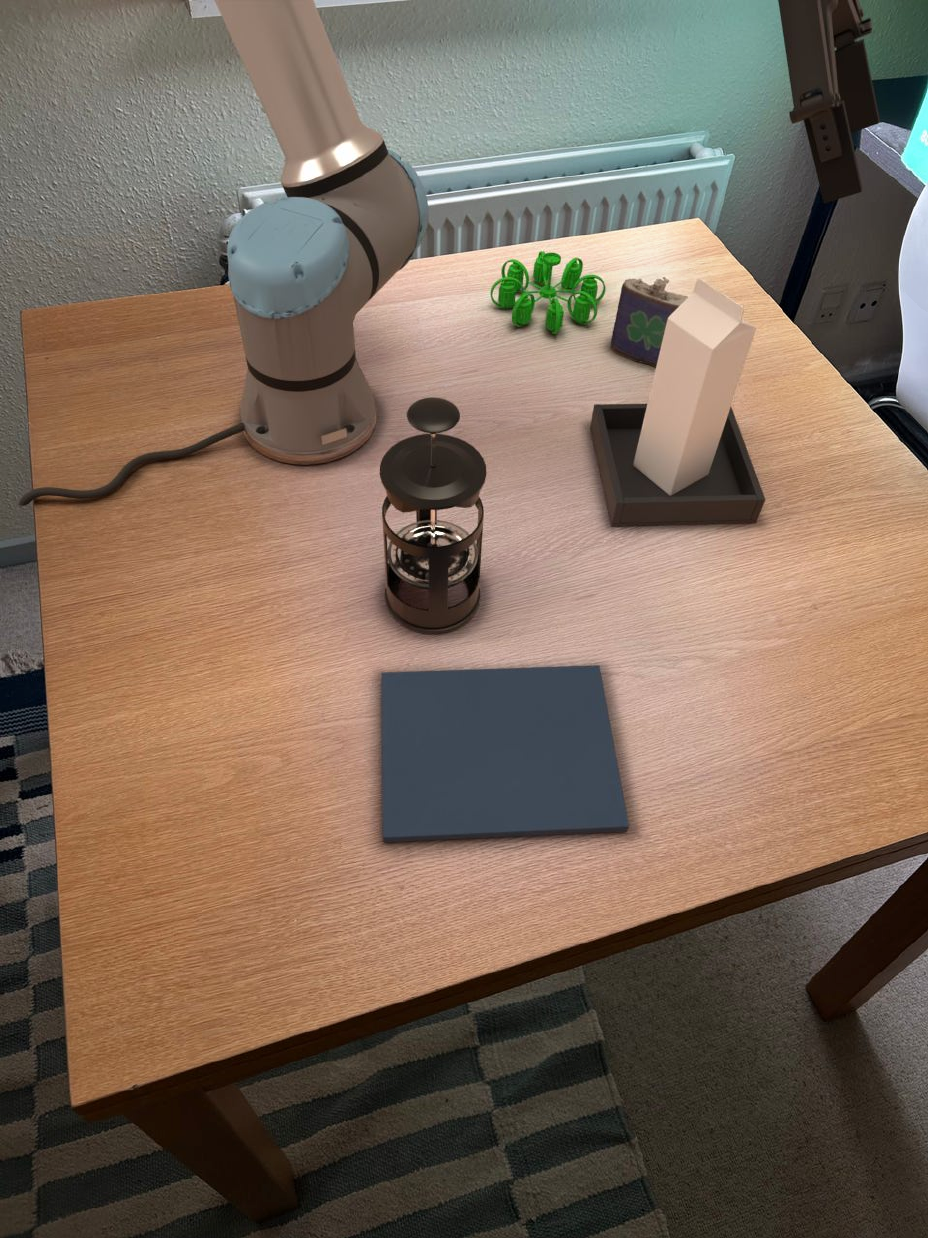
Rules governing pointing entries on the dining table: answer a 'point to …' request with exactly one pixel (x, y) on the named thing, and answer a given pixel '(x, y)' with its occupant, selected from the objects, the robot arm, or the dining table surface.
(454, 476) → the french press
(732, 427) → the tray
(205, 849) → the dining table surface
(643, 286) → the flask
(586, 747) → the mat
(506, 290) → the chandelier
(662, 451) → the milk
